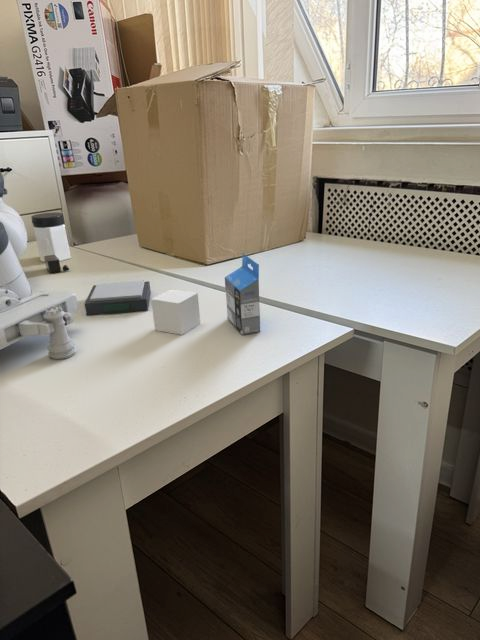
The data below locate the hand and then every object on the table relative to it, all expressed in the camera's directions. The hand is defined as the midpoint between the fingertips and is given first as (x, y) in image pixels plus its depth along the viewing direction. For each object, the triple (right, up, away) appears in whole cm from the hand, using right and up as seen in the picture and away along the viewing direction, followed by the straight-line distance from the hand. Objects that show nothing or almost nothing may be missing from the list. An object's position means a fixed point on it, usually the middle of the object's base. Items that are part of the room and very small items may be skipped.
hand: (60, 324), depth 82 cm
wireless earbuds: (-21, +16, +50) cm, 56 cm away
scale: (+3, +6, +25) cm, 26 cm away
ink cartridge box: (+29, 0, +12) cm, 32 cm away
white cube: (+17, 0, +12) cm, 21 cm away
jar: (-26, +21, +61) cm, 70 cm away
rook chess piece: (-1, -5, +3) cm, 6 cm away
